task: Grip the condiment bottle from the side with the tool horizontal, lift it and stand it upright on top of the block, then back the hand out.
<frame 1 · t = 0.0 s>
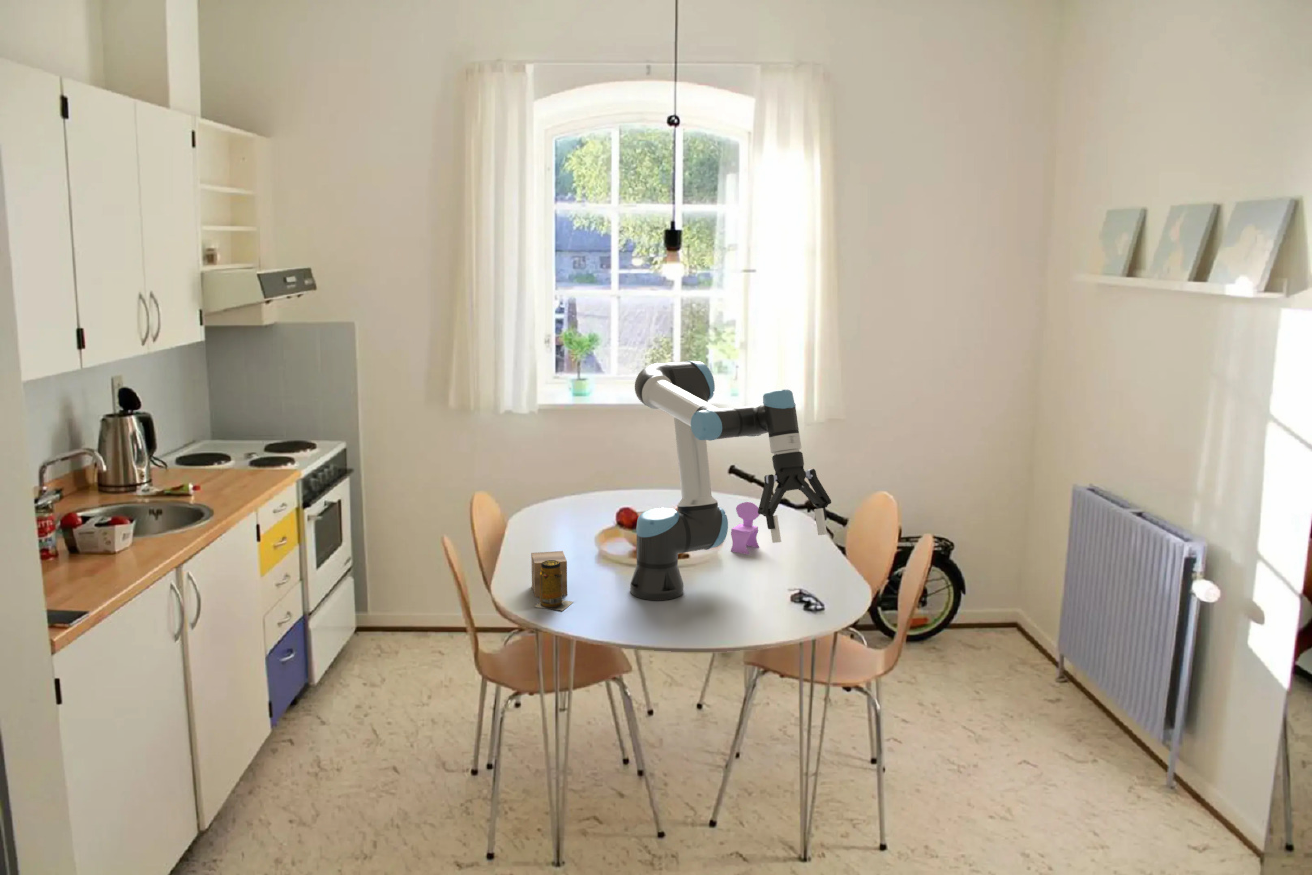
hand: (800, 538, 259), 28 cm above the table, tool tilted 20°, fingers open, 13 cm apart
block: (549, 590, 300), on the table
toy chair: (744, 550, 338), on the table
condiment: (553, 605, 290), on the table
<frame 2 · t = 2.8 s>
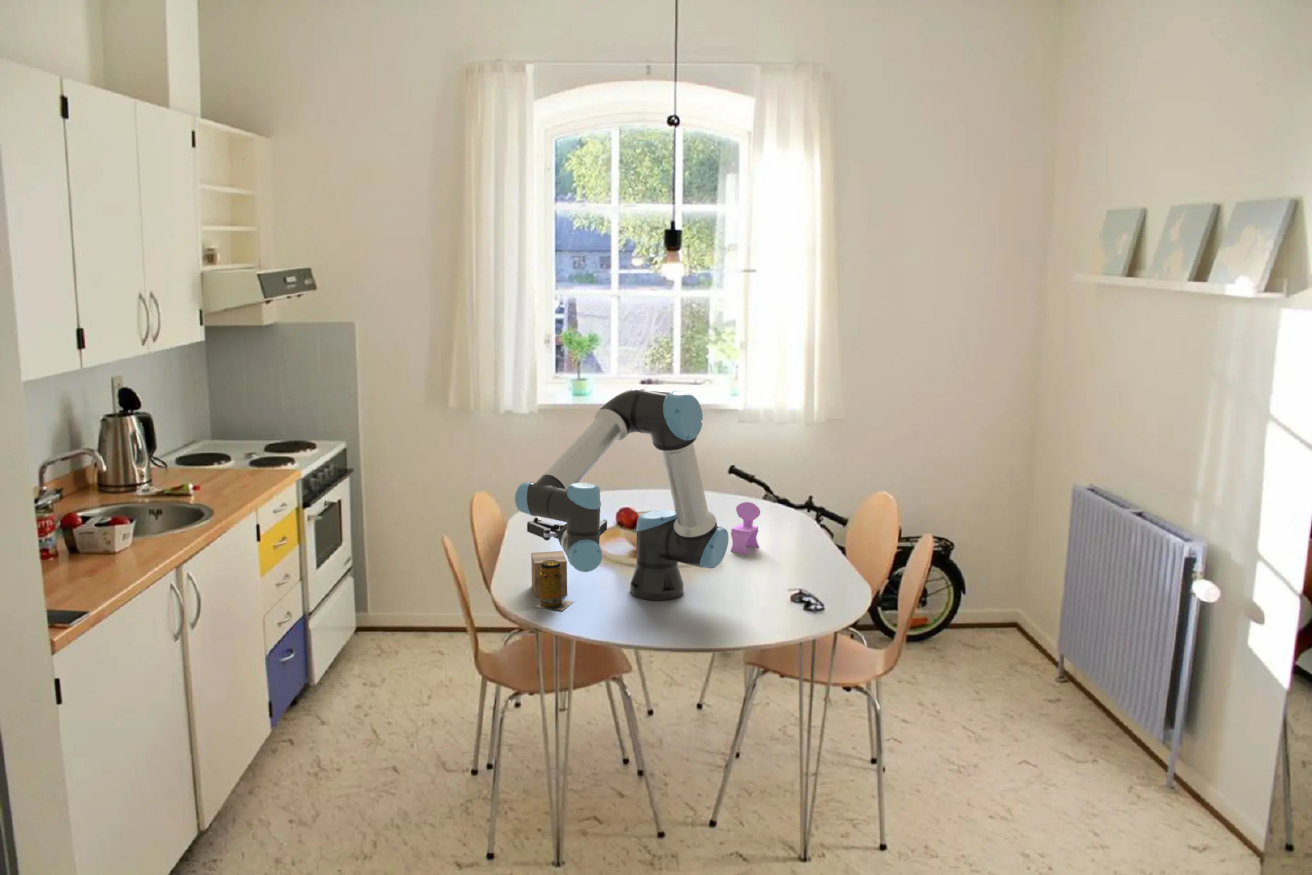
hand: (562, 518, 274), 28 cm above the table, tool horizontal, fingers open, 13 cm apart
nothing on the table moved.
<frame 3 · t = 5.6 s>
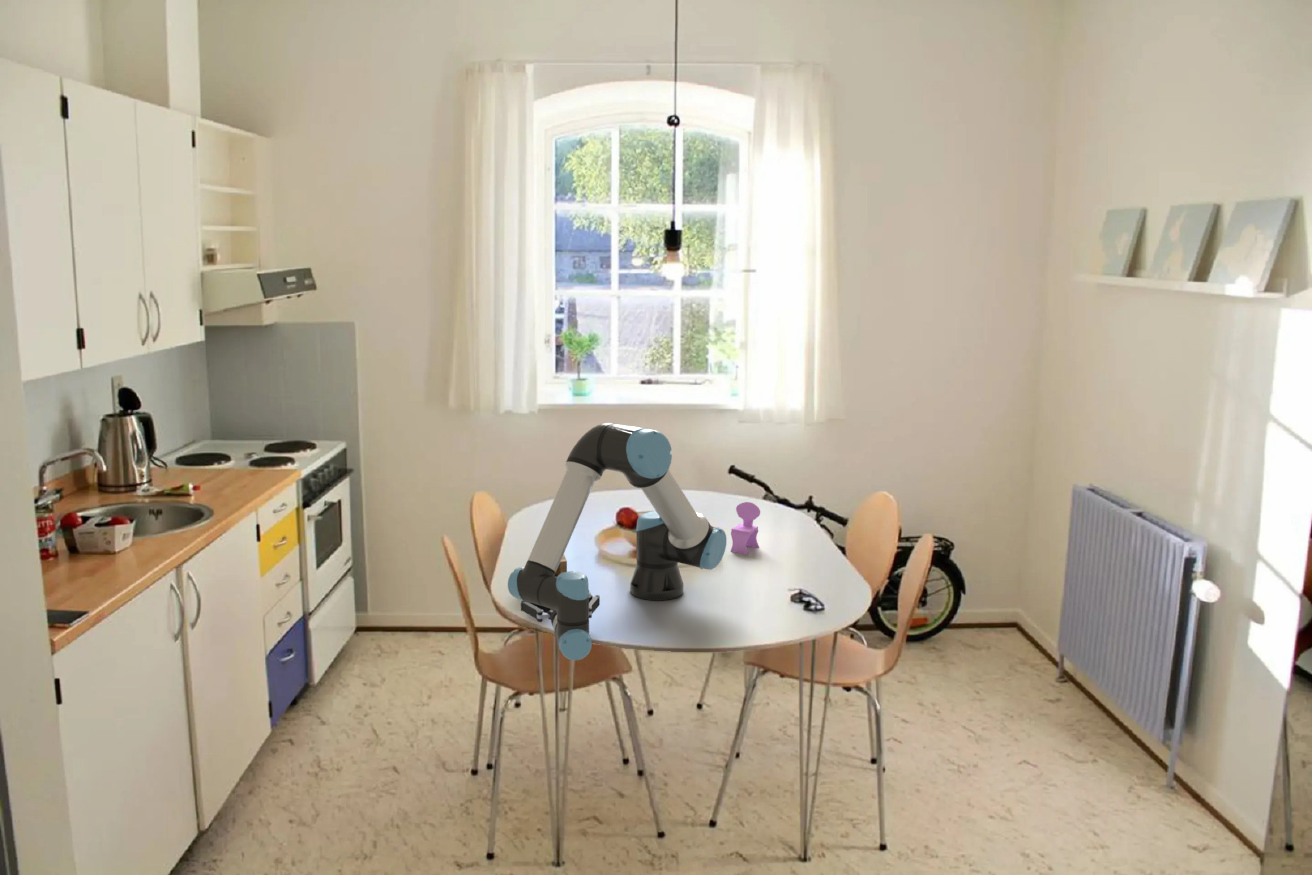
hand: (556, 592, 280), 7 cm above the table, tool horizontal, fingers open, 13 cm apart
nothing on the table moved.
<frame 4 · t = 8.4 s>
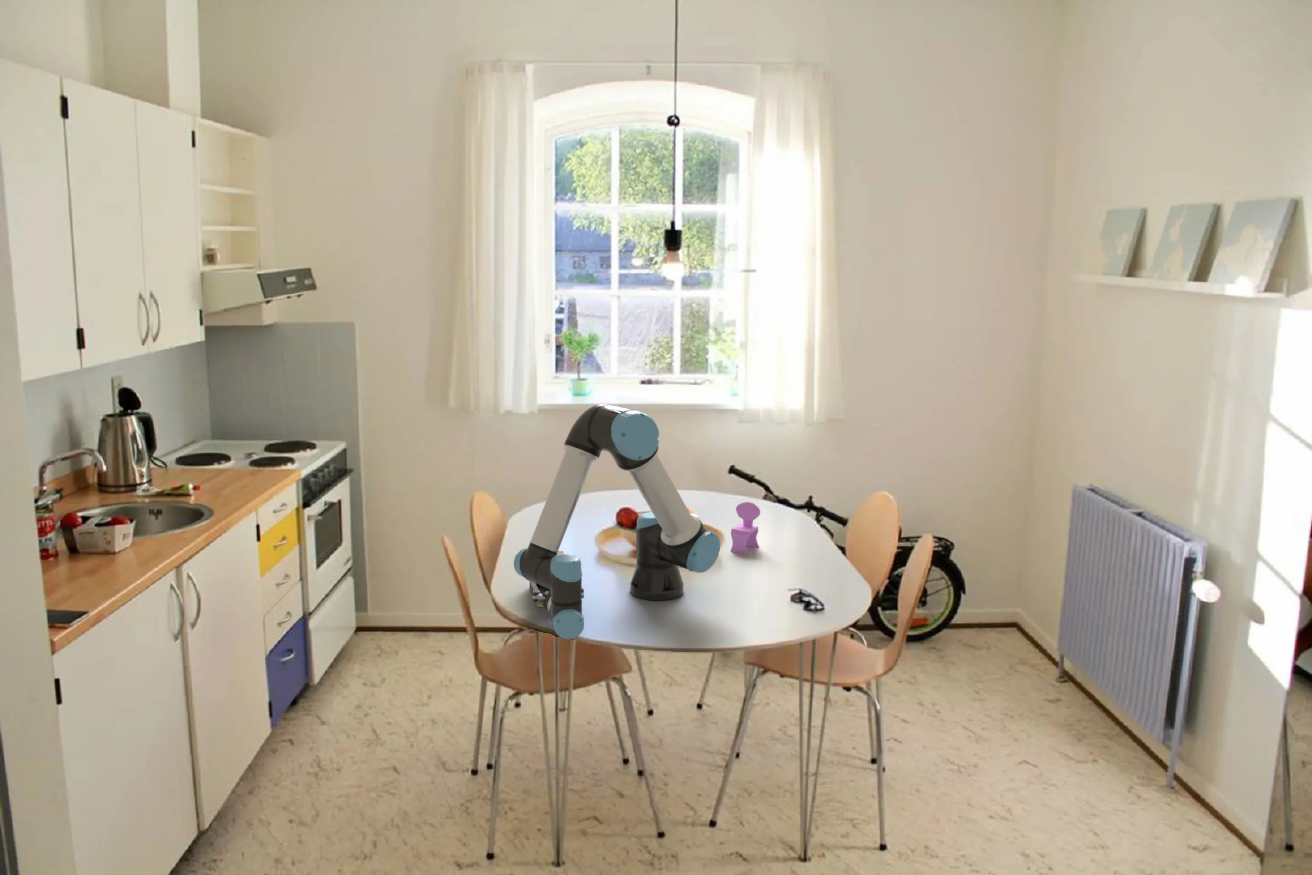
hand: (550, 574, 293), 7 cm above the table, tool horizontal, fingers closed on condiment, 6 cm apart
condiment: (555, 605, 290), on the table, touching gripper
everything else where it was.
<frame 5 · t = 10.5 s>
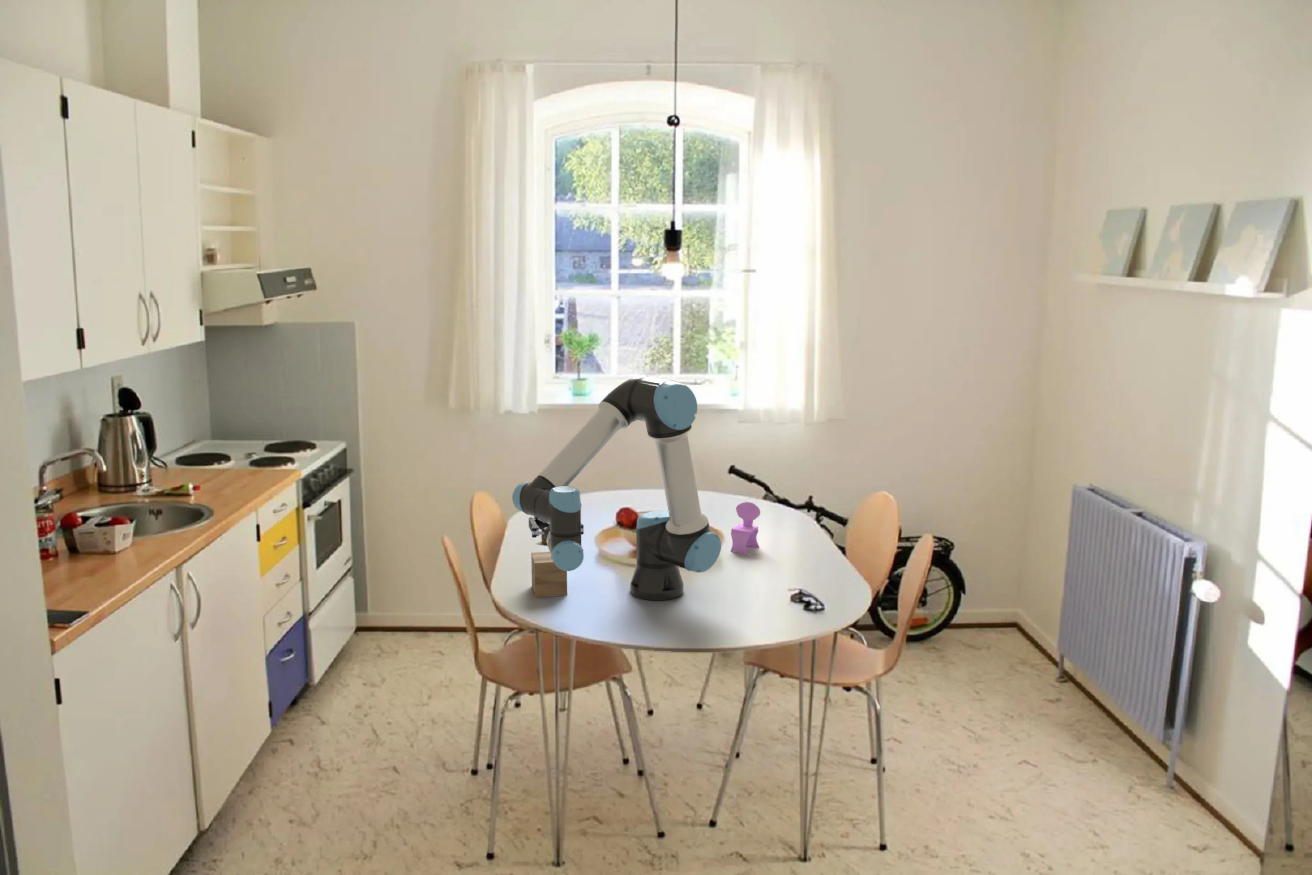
hand: (550, 512, 289), 25 cm above the table, tool horizontal, fingers closed on condiment, 6 cm apart
condiment: (555, 543, 286), point 17 cm above the table, touching gripper
everything else where it was.
when the fingers open (18 cm above the table, at t = 12.9 s): condiment drops 1 cm, resting on block.
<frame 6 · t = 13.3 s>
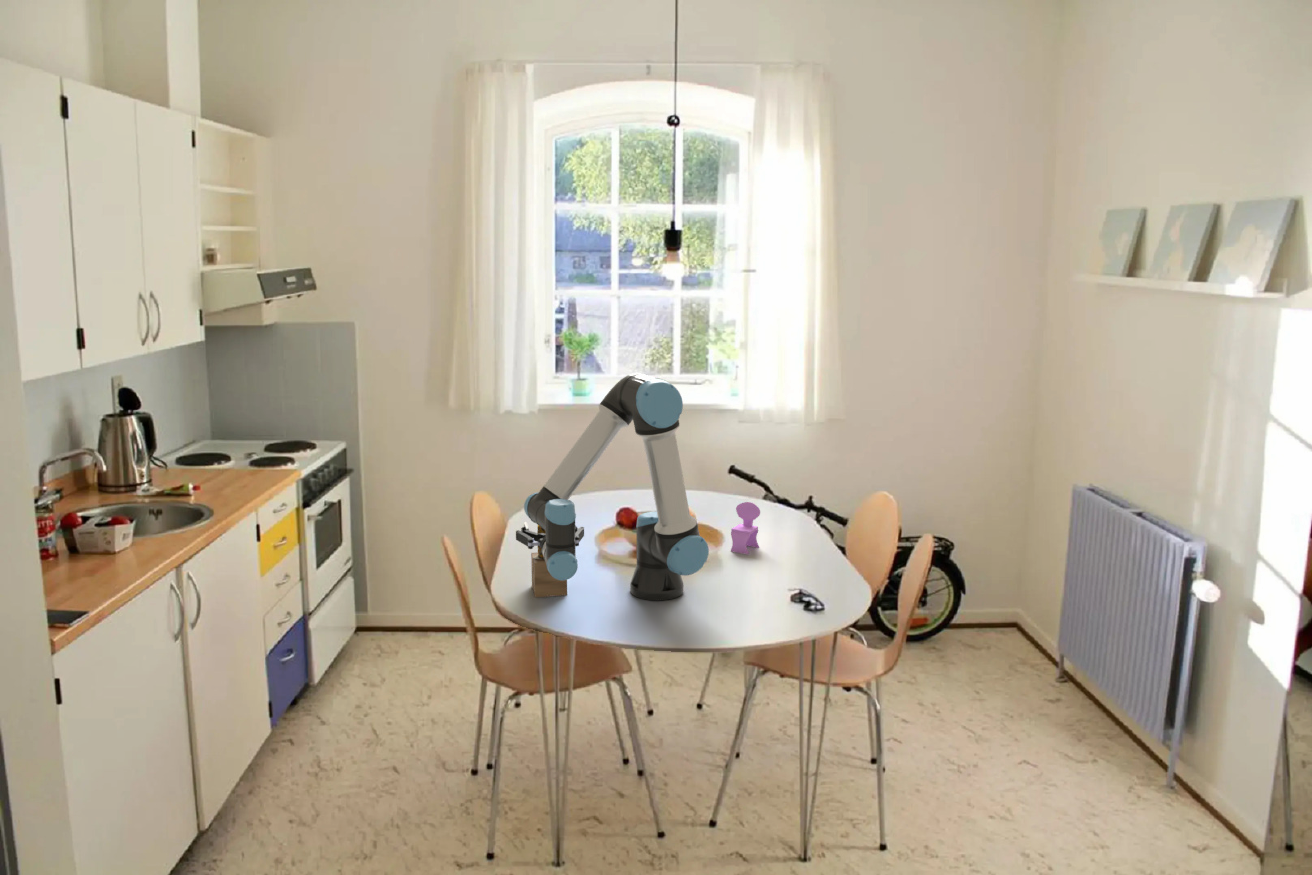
hand: (547, 525, 300), 18 cm above the table, tool horizontal, fingers open, 11 cm apart
condiment: (551, 557, 298), point 10 cm above the table, touching block
everything else where it was.
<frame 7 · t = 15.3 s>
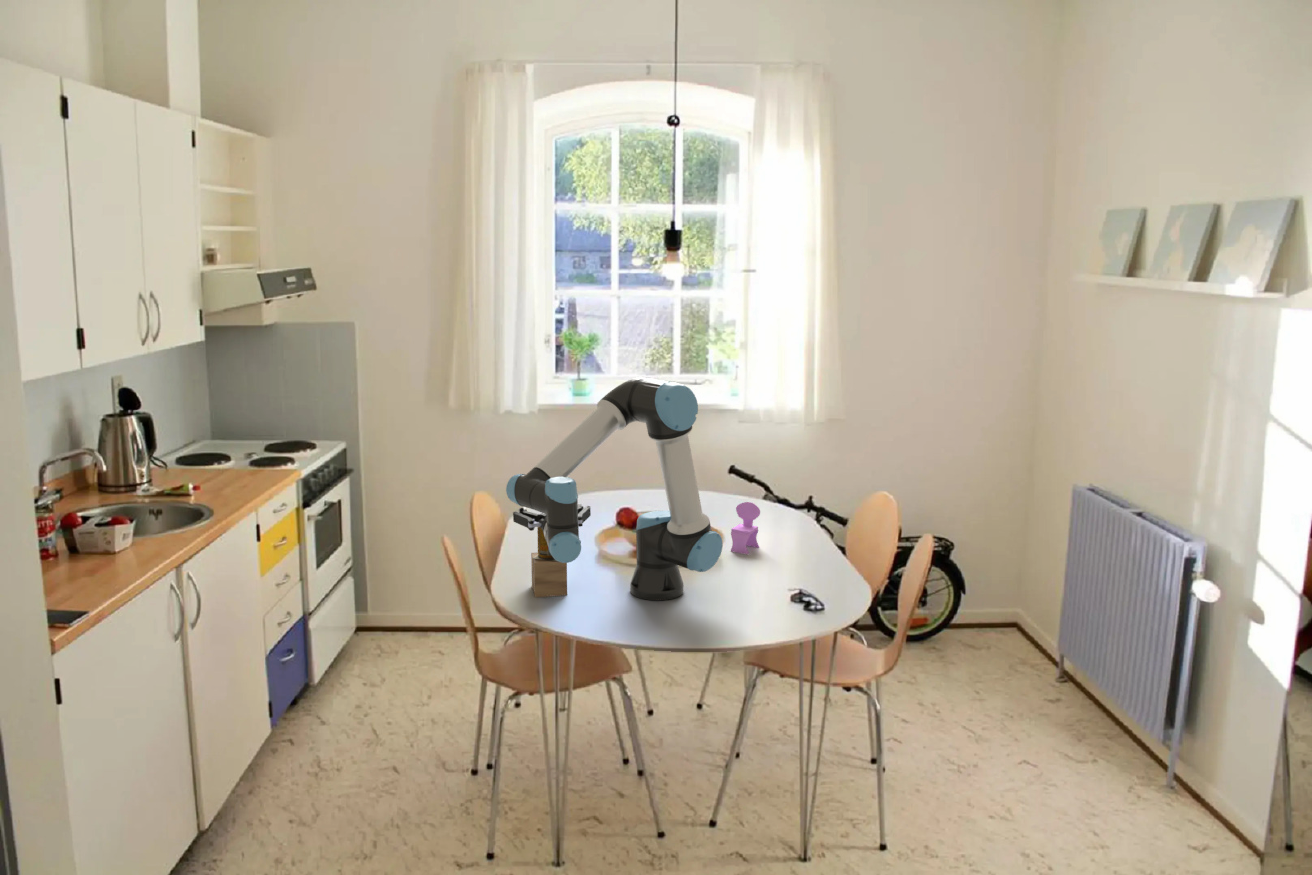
hand: (548, 505, 284), 28 cm above the table, tool horizontal, fingers open, 13 cm apart
nothing on the table moved.
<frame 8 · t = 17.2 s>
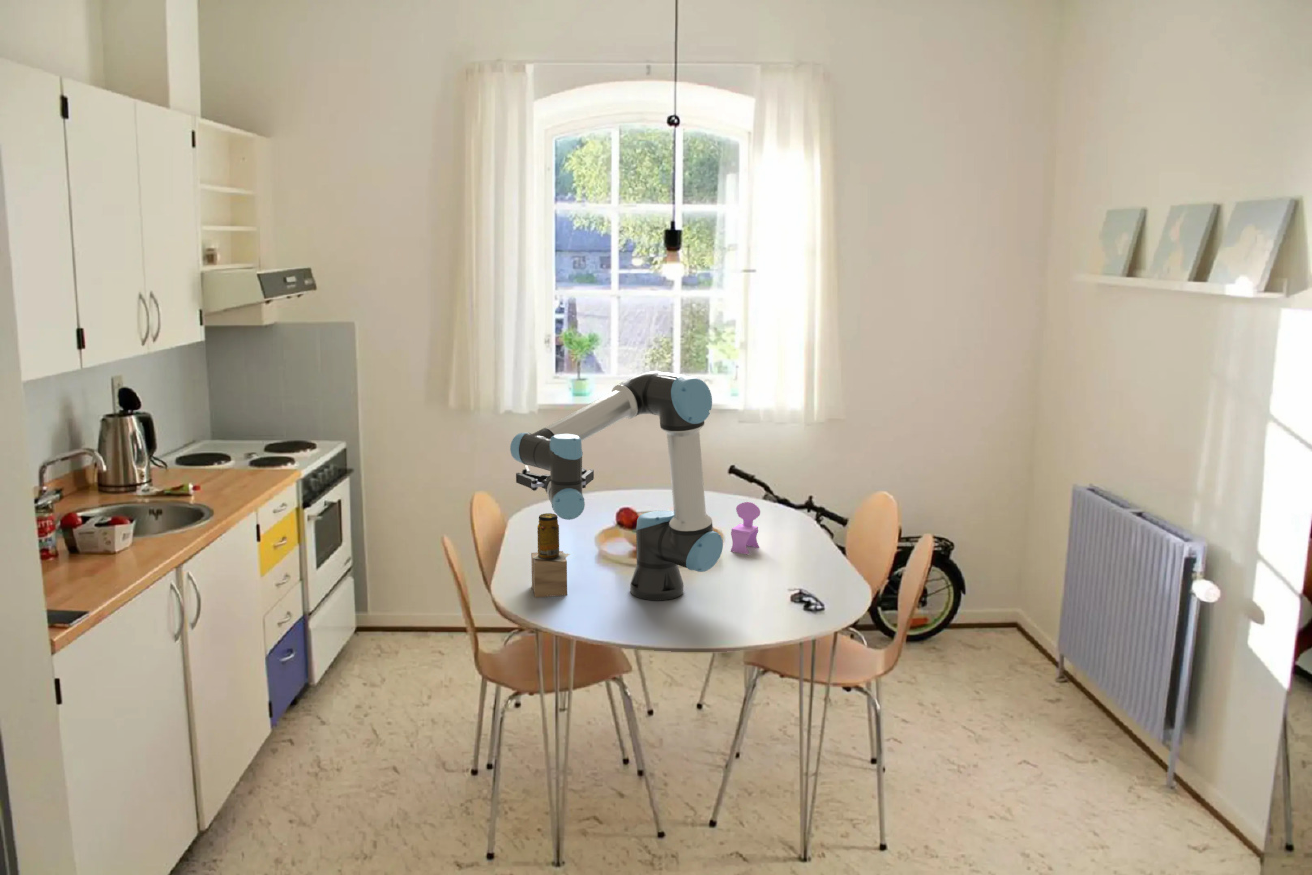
hand: (551, 468, 283), 38 cm above the table, tool horizontal, fingers open, 13 cm apart
nothing on the table moved.
at the end: condiment inside the target area on the block (0.6 cm from its centre), point 9.8 cm above the block's base; condiment tilted 0°; the gripper is holding nothing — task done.
